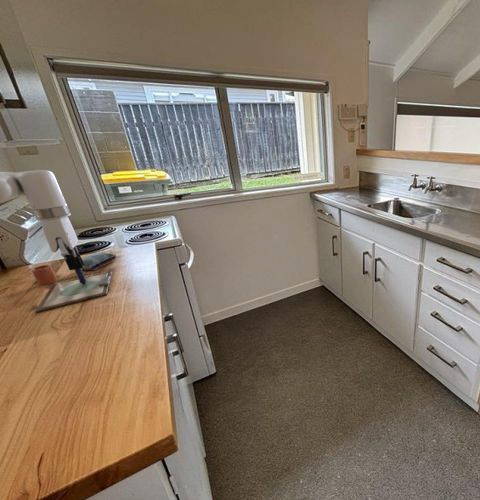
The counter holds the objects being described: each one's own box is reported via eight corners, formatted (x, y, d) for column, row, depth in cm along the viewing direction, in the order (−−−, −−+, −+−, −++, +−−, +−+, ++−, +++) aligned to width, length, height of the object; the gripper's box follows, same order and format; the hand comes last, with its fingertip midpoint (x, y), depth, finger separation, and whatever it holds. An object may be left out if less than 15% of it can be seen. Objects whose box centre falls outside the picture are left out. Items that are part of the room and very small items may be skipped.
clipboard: (35, 313, 80) (33, 309, 79) (53, 285, 95) (51, 282, 95) (107, 295, 88) (105, 291, 88) (112, 272, 104) (111, 269, 103)
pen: (80, 285, 93) (66, 253, 89) (81, 283, 95) (67, 251, 90) (86, 284, 94) (73, 251, 90) (87, 282, 95) (74, 250, 91)
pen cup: (37, 287, 95) (29, 271, 92) (41, 282, 98) (33, 267, 96) (56, 283, 97) (48, 268, 95) (59, 278, 100) (51, 263, 98)
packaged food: (71, 273, 104) (65, 261, 102) (100, 260, 115) (95, 249, 113) (92, 274, 103) (87, 261, 101) (120, 260, 114) (115, 249, 112)
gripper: (42, 210, 89) (67, 262, 96) (26, 220, 77) (55, 280, 84) (74, 206, 93) (95, 257, 100) (63, 215, 81) (88, 272, 88)
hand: (77, 267), depth 92 cm, fingers closed on pen, 1 cm apart
